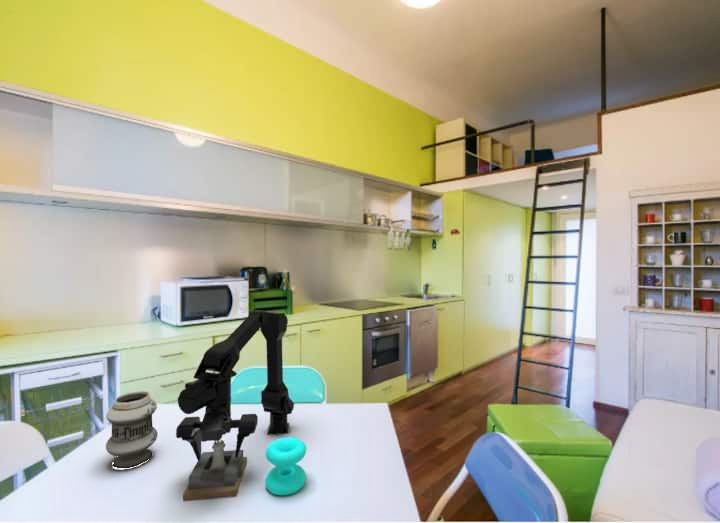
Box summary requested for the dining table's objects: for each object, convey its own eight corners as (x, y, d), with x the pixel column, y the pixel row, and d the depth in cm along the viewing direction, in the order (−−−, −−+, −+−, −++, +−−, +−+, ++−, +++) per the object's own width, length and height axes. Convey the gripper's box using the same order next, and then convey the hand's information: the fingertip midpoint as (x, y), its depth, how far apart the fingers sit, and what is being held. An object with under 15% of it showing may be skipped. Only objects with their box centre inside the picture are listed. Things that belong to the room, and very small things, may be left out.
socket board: (201, 465, 94) (201, 449, 94) (247, 462, 95) (247, 446, 95) (182, 500, 80) (183, 481, 80) (236, 496, 82) (236, 477, 82)
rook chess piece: (231, 471, 89) (231, 440, 89) (217, 481, 85) (217, 448, 85) (219, 466, 91) (219, 436, 91) (204, 475, 87) (205, 444, 87)
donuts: (302, 456, 81) (260, 455, 81) (301, 498, 81) (259, 497, 81) (309, 435, 91) (272, 434, 91) (309, 473, 91) (271, 471, 91)
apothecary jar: (101, 460, 96) (102, 396, 96) (149, 443, 104) (150, 385, 104) (111, 479, 87) (112, 409, 87) (163, 459, 96) (164, 396, 96)
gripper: (167, 413, 78) (166, 481, 78) (251, 409, 81) (250, 475, 81) (184, 394, 89) (183, 454, 89) (258, 391, 92) (257, 449, 92)
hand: (218, 458), depth 88 cm, fingers open, 9 cm apart
